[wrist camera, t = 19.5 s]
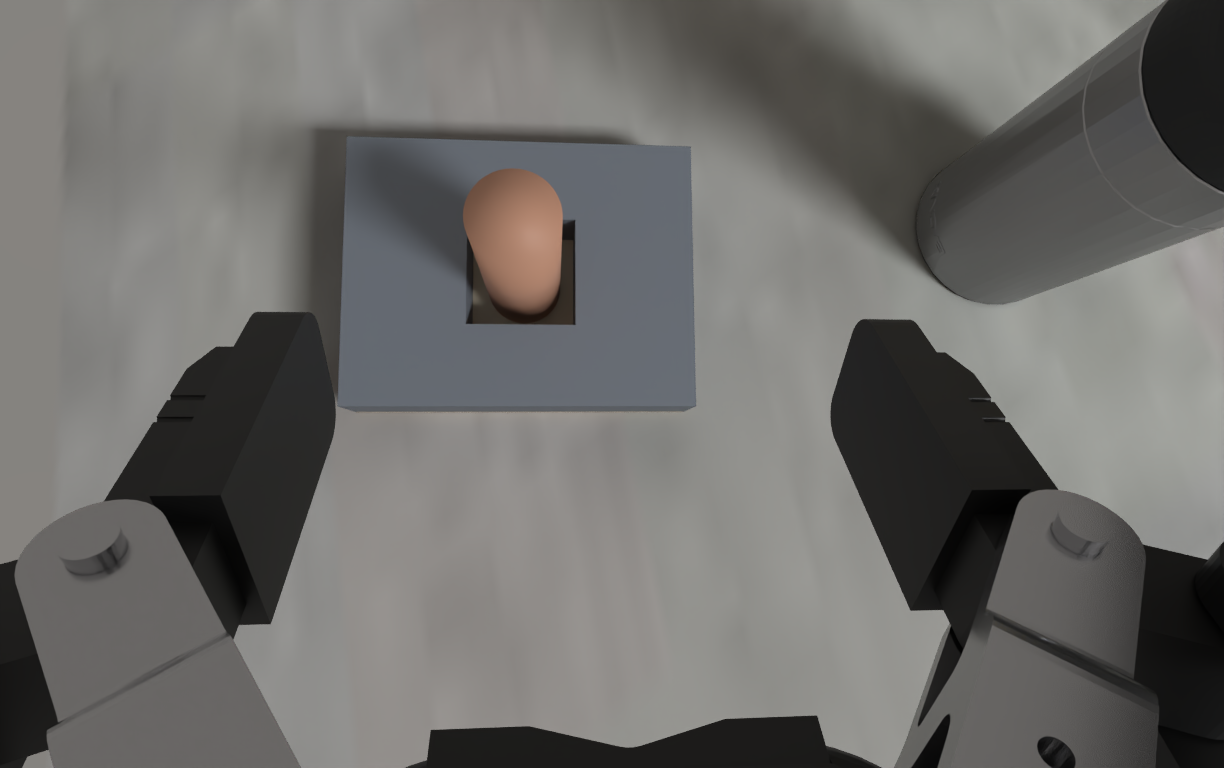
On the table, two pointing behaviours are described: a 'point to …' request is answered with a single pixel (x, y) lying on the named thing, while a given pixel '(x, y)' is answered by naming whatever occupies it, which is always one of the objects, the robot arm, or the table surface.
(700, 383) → the table surface
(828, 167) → the table surface
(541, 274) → the peg
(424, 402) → the socket block
